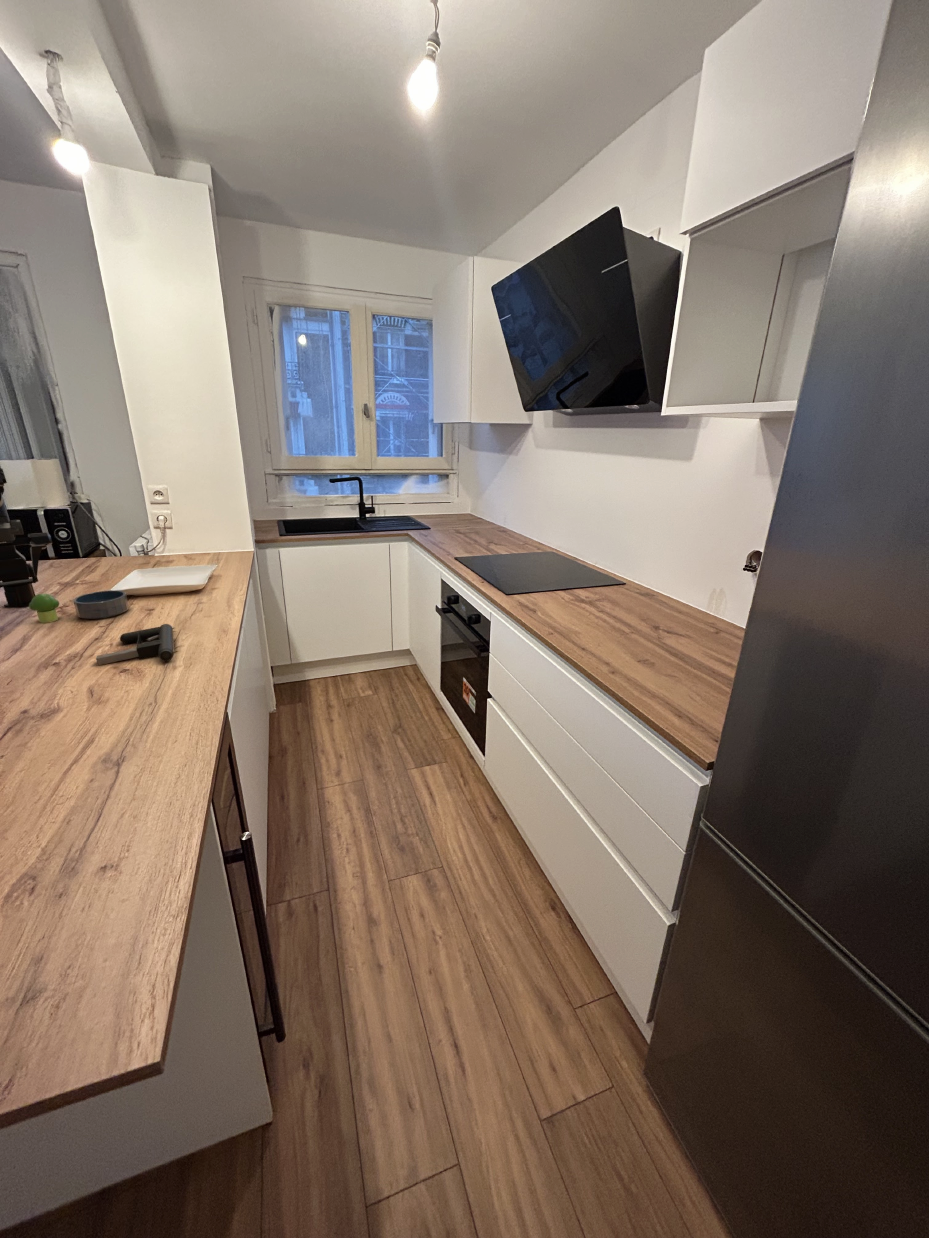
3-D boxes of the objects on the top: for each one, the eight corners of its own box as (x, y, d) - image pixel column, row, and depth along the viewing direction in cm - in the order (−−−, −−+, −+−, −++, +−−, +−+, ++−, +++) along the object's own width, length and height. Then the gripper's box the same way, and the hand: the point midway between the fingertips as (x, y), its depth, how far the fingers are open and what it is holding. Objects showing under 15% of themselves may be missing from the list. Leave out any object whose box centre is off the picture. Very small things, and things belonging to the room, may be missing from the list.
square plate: (219, 573, 183) (217, 563, 181) (207, 594, 158) (205, 582, 157) (137, 578, 175) (134, 567, 173) (110, 600, 150) (107, 588, 149)
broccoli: (32, 625, 130) (23, 598, 128) (36, 619, 135) (28, 593, 132) (61, 621, 133) (54, 595, 131) (65, 615, 138) (58, 590, 135)
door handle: (91, 665, 103) (177, 647, 110) (101, 634, 119) (175, 620, 126) (96, 679, 104) (180, 660, 111) (105, 646, 120) (179, 631, 128)
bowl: (96, 606, 146) (92, 590, 144) (138, 606, 146) (134, 590, 144) (67, 620, 134) (62, 603, 132) (112, 620, 135) (107, 603, 133)
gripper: (-69, 512, 103) (-45, 584, 106) (44, 506, 116) (63, 571, 118) (-65, 518, 111) (-42, 585, 114) (41, 512, 124) (58, 573, 126)
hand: (11, 578), depth 118 cm, fingers open, 9 cm apart
